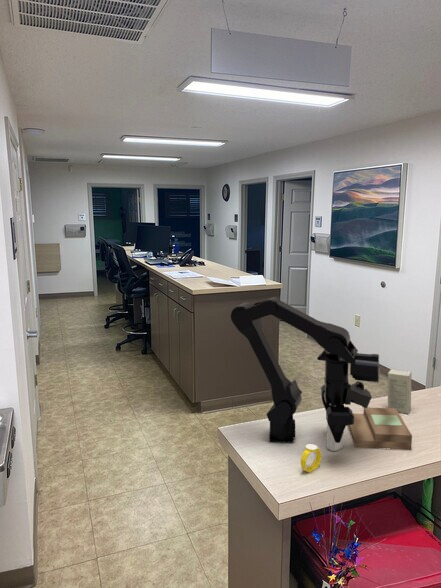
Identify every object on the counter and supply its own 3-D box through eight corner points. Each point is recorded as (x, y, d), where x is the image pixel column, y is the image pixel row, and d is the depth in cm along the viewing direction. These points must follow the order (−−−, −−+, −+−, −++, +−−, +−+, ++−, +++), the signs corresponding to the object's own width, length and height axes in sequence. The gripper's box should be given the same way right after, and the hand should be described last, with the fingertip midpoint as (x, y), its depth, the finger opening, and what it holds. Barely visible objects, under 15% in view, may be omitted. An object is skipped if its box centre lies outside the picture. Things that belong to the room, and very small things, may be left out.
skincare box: (411, 409, 135) (412, 371, 132) (408, 414, 131) (410, 376, 129) (389, 405, 138) (390, 368, 136) (386, 410, 134) (387, 372, 132)
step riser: (354, 447, 113) (355, 432, 113) (345, 419, 129) (346, 406, 128) (411, 449, 111) (412, 434, 111) (395, 421, 127) (395, 407, 126)
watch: (314, 463, 107) (315, 440, 106) (323, 468, 105) (324, 445, 104) (297, 471, 103) (299, 447, 103) (306, 476, 101) (308, 452, 101)
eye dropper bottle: (349, 448, 113) (350, 405, 111) (331, 453, 111) (331, 409, 109) (339, 440, 117) (340, 398, 115) (321, 445, 115) (321, 402, 113)
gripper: (377, 392, 101) (375, 454, 103) (362, 365, 119) (361, 418, 121) (328, 391, 102) (327, 452, 105) (320, 364, 120) (320, 417, 123)
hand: (335, 434), depth 113 cm, fingers closed on eye dropper bottle, 8 cm apart
